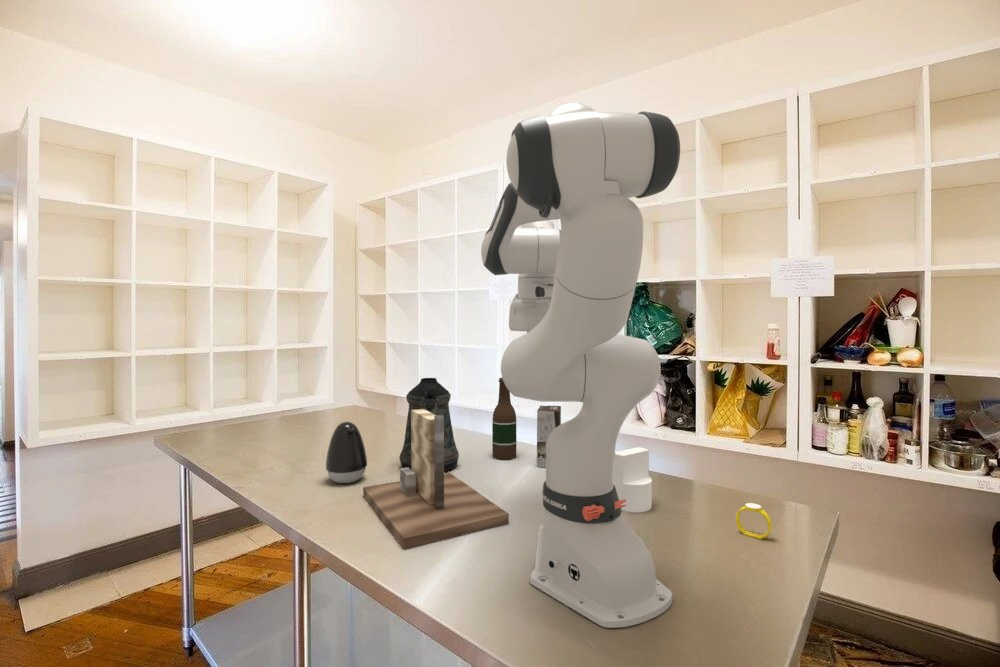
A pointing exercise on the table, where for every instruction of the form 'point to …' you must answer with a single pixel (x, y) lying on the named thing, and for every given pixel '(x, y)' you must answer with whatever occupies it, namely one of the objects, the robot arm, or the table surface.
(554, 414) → the coffee box
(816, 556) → the table surface
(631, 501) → the base with upright slab
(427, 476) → the wood grain panel
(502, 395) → the beer bottle
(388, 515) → the wooden board with peg
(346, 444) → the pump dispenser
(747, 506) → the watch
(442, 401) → the beer stein
